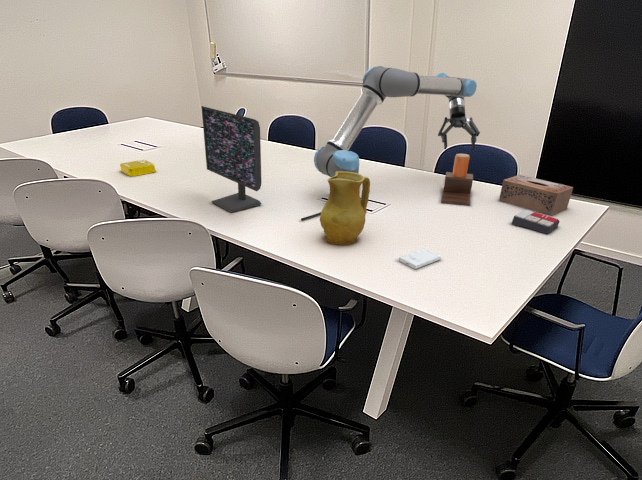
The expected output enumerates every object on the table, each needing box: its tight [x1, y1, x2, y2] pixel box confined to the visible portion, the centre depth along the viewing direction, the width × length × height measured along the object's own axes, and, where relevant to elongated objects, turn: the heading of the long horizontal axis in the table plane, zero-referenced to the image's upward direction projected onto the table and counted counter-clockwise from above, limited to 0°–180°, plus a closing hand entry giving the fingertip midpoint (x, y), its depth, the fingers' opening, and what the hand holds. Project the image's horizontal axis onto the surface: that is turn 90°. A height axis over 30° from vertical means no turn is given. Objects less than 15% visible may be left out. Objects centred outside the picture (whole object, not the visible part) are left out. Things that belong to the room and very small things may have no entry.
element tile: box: [119, 159, 156, 177], centre depth 251 cm, size 15×15×5 cm
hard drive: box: [398, 248, 442, 270], centre depth 157 cm, size 2×8×12 cm
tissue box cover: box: [498, 174, 574, 217], centre depth 205 cm, size 26×14×10 cm, turn 39°
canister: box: [452, 153, 471, 177], centre depth 216 cm, size 7×7×10 cm
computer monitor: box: [201, 105, 262, 214], centre depth 196 cm, size 44×16×40 cm, turn 40°
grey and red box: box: [511, 209, 561, 235], centre depth 184 cm, size 11×4×15 cm
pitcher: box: [319, 171, 371, 246], centre depth 167 cm, size 17×19×25 cm
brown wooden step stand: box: [440, 171, 474, 207], centre depth 215 cm, size 24×13×8 cm, turn 164°
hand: (459, 147), depth 219 cm, fingers open, 13 cm apart
